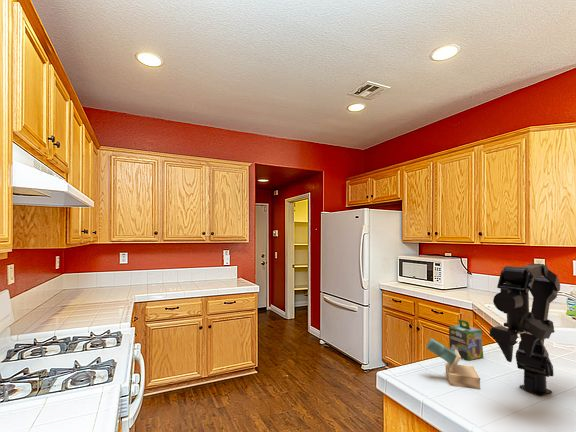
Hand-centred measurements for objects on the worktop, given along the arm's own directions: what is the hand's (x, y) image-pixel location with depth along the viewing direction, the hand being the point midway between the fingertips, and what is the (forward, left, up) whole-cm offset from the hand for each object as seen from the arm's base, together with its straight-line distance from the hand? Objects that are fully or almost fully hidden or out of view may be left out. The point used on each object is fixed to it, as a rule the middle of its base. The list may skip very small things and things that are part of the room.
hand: (519, 359), depth 100 cm
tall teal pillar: (+5, -19, -7) cm, 21 cm away
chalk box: (-19, -33, -13) cm, 40 cm away
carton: (+3, -18, -13) cm, 22 cm away
